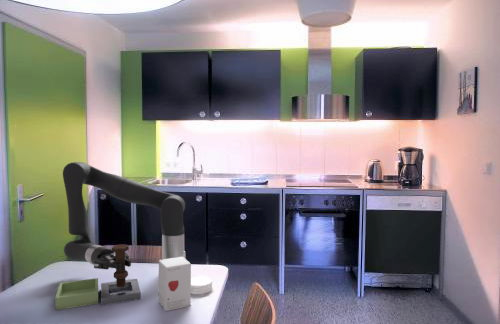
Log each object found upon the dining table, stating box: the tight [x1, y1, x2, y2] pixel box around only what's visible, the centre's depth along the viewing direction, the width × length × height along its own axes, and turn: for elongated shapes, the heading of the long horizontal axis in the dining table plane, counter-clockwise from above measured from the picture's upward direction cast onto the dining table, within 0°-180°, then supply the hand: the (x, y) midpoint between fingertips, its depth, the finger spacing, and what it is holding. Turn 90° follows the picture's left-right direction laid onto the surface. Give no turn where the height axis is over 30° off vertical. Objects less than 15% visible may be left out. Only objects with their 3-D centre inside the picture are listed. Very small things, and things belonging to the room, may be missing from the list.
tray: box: [54, 277, 99, 311], centre depth 127 cm, size 13×14×4 cm
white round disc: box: [191, 275, 213, 296], centre depth 136 cm, size 10×10×4 cm
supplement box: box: [158, 257, 192, 312], centre depth 123 cm, size 9×9×15 cm
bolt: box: [111, 243, 130, 288], centre depth 131 cm, size 6×5×15 cm
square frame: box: [100, 278, 142, 306], centre depth 131 cm, size 13×14×2 cm
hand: (125, 265), depth 129 cm, fingers closed on bolt, 3 cm apart
